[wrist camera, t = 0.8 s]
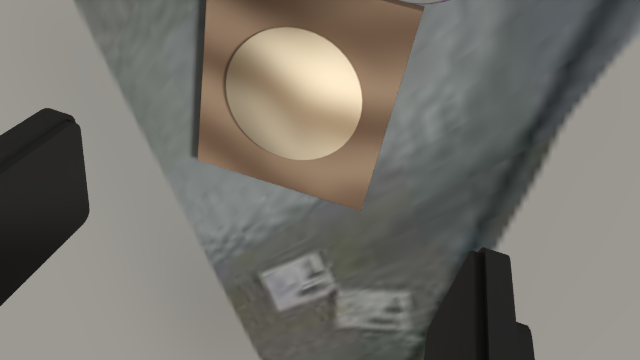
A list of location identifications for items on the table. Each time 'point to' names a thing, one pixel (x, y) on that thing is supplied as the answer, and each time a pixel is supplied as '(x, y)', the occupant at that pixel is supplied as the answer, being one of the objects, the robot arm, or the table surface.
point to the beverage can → (423, 1)
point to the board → (303, 89)
